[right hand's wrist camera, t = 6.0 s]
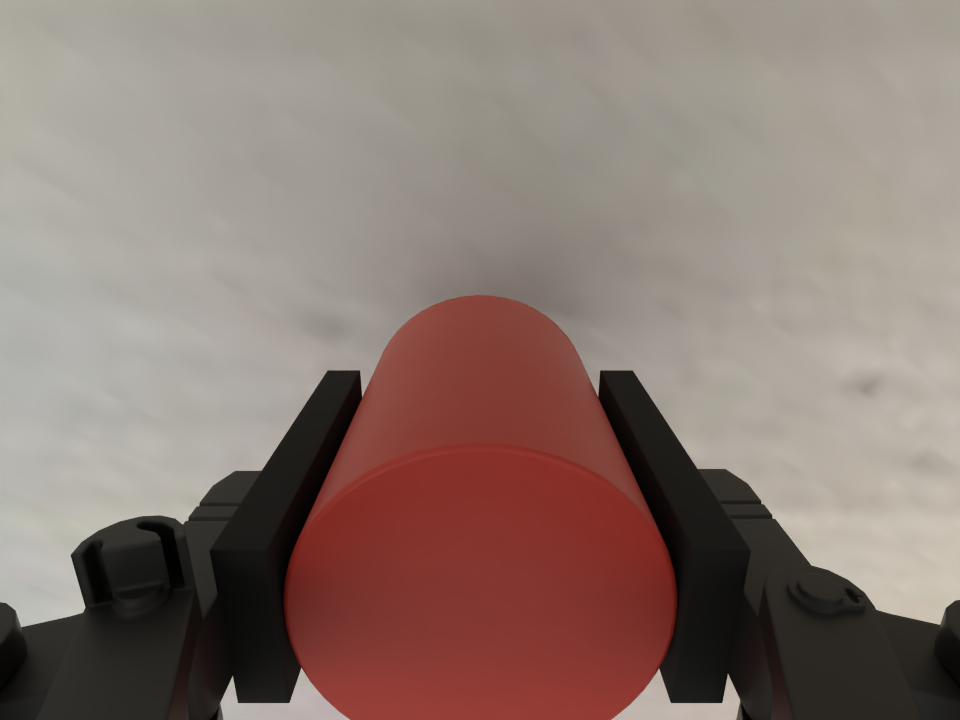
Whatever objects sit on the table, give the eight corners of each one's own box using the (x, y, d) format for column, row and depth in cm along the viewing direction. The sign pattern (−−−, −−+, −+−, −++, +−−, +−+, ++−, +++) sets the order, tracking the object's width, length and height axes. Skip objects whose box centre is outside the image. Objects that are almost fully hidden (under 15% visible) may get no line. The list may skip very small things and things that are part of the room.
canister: (339, 437, 16) (223, 683, 9) (432, 254, 14) (383, 372, 7) (520, 519, 17) (550, 804, 10) (627, 356, 15) (761, 554, 8)
